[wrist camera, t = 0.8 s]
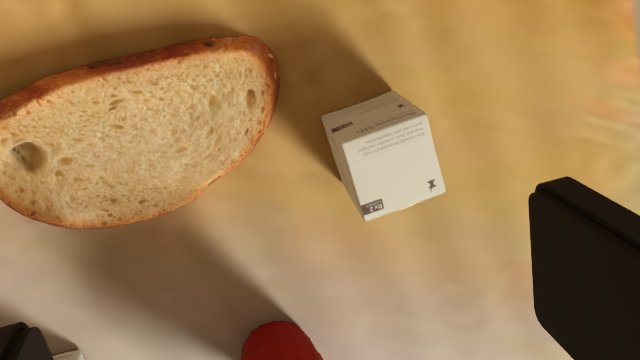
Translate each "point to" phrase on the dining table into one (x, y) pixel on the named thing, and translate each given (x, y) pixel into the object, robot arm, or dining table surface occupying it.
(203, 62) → the bread slice
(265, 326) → the plastic cup
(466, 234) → the dining table surface
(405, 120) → the skincare box
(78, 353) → the tea box
